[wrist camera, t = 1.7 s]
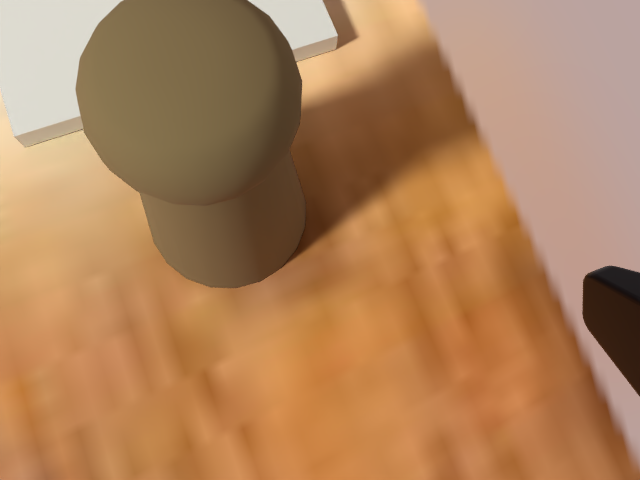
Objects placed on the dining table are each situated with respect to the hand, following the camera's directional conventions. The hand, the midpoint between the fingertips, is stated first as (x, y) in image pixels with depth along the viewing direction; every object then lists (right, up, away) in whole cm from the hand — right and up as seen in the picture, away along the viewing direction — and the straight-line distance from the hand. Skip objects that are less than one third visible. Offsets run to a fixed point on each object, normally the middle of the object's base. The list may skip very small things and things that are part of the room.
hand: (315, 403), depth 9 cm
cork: (-4, +3, +15) cm, 16 cm away
